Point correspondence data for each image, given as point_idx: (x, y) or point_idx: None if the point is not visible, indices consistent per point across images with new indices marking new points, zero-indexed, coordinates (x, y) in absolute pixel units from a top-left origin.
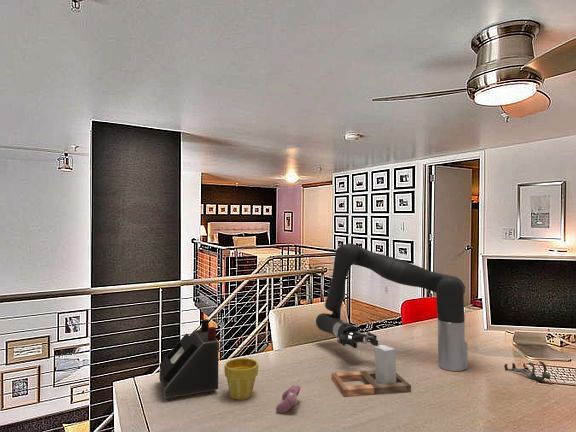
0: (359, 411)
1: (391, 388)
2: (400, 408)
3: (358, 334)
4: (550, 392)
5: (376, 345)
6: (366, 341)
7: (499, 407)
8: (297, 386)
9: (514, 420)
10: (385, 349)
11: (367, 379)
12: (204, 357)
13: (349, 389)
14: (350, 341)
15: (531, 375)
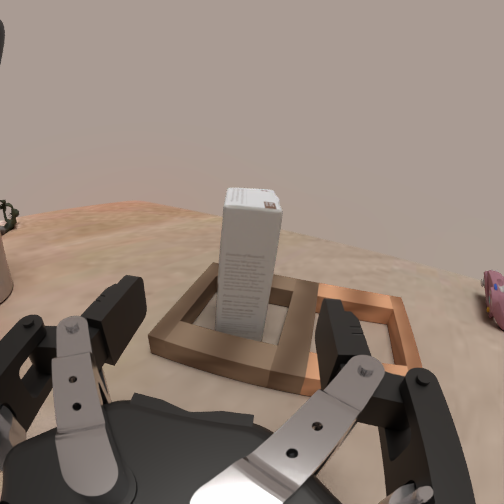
0: (374, 272)
1: None
2: (292, 257)
3: (117, 452)
4: (46, 218)
5: (144, 305)
6: (109, 400)
7: (141, 221)
8: (495, 278)
9: (166, 211)
10: (266, 191)
11: (310, 317)
12: None
13: (386, 295)
14: (361, 345)
15: (11, 222)
